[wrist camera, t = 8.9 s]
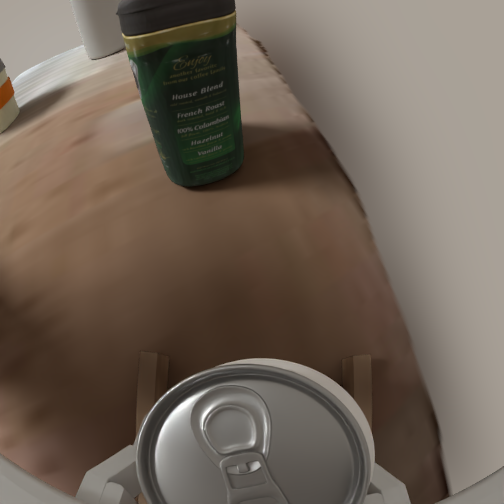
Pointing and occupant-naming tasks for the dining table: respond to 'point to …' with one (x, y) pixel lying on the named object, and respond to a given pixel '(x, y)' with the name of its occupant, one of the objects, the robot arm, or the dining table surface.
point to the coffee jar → (187, 83)
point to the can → (255, 439)
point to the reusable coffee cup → (6, 100)
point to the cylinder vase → (98, 26)
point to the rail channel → (156, 383)
